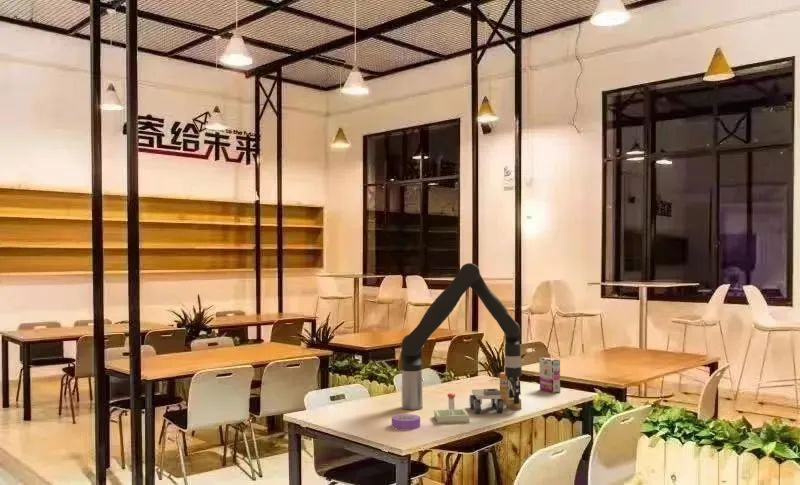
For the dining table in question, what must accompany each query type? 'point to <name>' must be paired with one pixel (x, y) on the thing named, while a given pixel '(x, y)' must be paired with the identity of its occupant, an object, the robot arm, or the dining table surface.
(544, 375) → the candy bar box
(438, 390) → the dining table surface
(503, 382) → the supplement box
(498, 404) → the trolley
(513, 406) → the block
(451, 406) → the pin
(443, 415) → the tray
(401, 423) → the masking tape
